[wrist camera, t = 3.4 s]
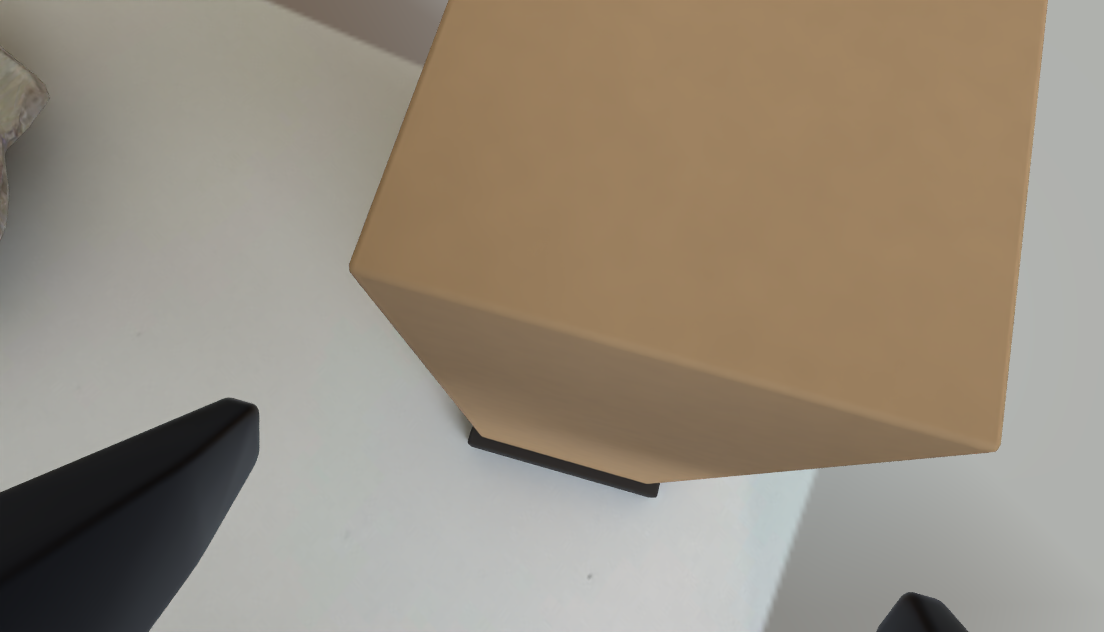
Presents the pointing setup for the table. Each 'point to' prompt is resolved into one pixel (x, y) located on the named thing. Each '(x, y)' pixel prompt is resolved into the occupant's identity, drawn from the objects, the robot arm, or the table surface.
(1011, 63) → the tan block on base
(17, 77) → the seashell
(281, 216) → the table surface
